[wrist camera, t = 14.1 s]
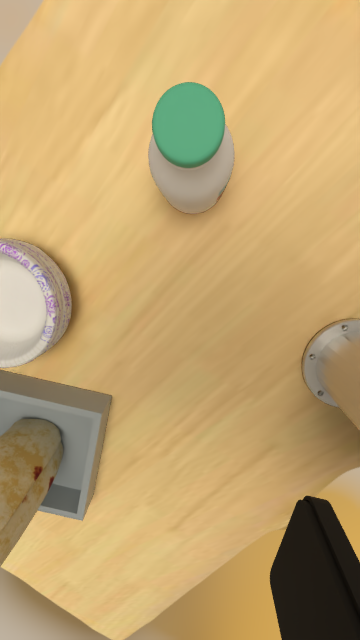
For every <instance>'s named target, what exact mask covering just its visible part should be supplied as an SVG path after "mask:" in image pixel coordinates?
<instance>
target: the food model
mask: <svg viewBox="0 0 360 640" xmlns="http://www.w3.org/2000/svg"><path fill="white" fill-rule="evenodd" d="M62 455H63V445H62V443H61V437H60V432H59V429H58V428H57V427H56V426H55V425H54V424H53V423H51V422H49V421H46V420H42V419H20V420H18V421H16V422H15V423H14V424H13V425H12V426H11V427H10V428H9V429H8V430H7V431H6V432H5V433H4V434H2V435H1V436H0V566H1V565H2V564H3V562H4V561H5V559H6V558H7V556H8V555H9V553H10V552H11V550H12V549H13V547H14V546H15V545H16V543H17V542H18V540H19V539H20V537H21V536H22V534H23V532H24V531H25V529H26V528H27V526H28V525H29V523H30V521H31V520H32V518H33V517H34V515H35V513H36V512H37V510H38V508H39V507H40V505H41V503H42V502H43V500H44V498H45V496H46V494H47V493H48V491H49V489H50V487H51V485H52V483H53V481H54V479H55V477H56V475H57V472H58V469H59V467H60V463H61V460H62Z"/></svg>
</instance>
